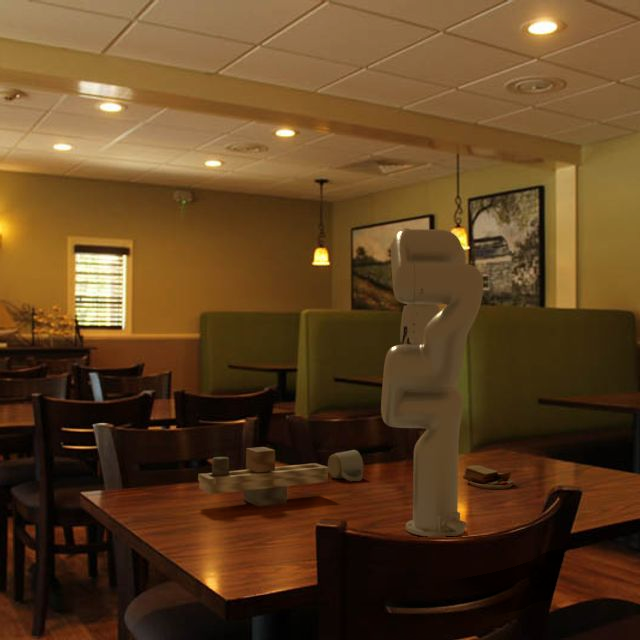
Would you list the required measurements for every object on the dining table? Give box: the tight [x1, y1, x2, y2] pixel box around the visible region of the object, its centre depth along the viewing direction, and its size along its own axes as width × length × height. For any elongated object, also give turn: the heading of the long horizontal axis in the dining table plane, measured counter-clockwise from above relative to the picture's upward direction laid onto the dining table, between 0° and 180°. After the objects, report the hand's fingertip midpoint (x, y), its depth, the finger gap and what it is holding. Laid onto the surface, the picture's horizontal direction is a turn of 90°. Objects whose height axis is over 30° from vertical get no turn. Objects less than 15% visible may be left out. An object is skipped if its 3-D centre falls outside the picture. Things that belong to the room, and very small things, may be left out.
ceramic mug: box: [327, 449, 364, 482], centre depth 231 cm, size 11×8×8 cm
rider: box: [245, 446, 276, 473], centre depth 200 cm, size 5×6×7 cm
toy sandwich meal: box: [462, 464, 515, 490], centre depth 225 cm, size 12×14×5 cm
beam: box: [197, 456, 330, 507], centre depth 201 cm, size 33×8×12 cm, turn 120°
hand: (421, 372), depth 204 cm, fingers closed
